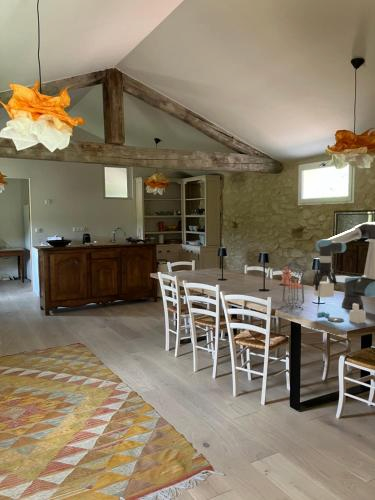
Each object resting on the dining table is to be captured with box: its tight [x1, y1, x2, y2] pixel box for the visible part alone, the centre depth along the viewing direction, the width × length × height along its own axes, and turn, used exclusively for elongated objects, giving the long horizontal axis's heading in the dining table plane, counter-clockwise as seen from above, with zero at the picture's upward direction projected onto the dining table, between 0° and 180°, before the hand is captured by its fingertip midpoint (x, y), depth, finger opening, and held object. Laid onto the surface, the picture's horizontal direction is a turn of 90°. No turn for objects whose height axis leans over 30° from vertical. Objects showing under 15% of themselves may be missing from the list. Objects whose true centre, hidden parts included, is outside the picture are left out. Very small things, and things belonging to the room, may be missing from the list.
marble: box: [324, 312, 330, 318], centre depth 266 cm, size 3×3×3 cm
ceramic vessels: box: [280, 266, 305, 290], centre depth 383 cm, size 35×21×19 cm, turn 11°
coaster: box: [327, 316, 345, 323], centre depth 258 cm, size 10×10×1 cm
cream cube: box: [313, 280, 335, 298], centre depth 265 cm, size 9×9×9 cm
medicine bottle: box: [348, 303, 367, 324], centre depth 253 cm, size 7×7×12 cm
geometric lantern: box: [280, 261, 308, 309], centre depth 296 cm, size 16×16×35 cm
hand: (324, 294), depth 265 cm, fingers closed on cream cube, 9 cm apart
